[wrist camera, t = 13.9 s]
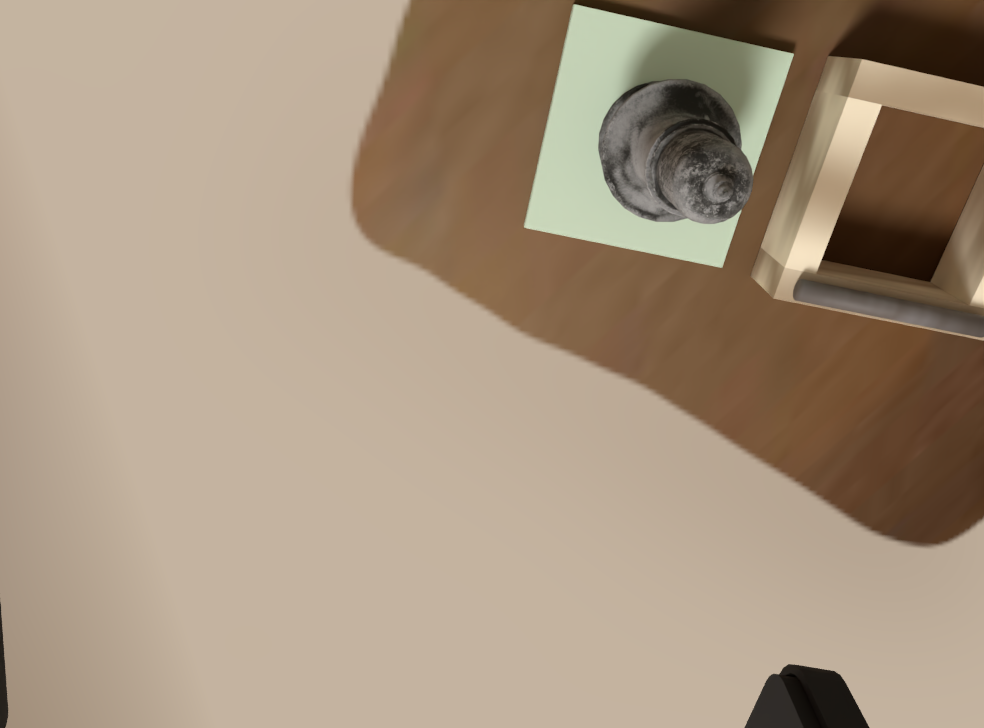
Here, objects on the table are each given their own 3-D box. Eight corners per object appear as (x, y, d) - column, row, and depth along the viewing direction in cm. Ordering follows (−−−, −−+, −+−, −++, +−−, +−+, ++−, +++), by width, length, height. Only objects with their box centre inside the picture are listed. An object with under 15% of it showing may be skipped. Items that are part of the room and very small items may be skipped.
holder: (828, 55, 35) (872, 60, 30) (1044, 104, 35) (1116, 115, 31) (750, 275, 39) (780, 305, 35) (945, 315, 39) (997, 348, 35)
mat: (573, 4, 34) (574, 4, 33) (789, 53, 34) (794, 54, 34) (523, 224, 38) (524, 227, 37) (718, 264, 38) (721, 267, 38)
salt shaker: (615, 223, 37) (665, 307, 26) (573, 105, 35) (608, 142, 24) (734, 176, 36) (837, 242, 25) (699, 51, 34) (795, 64, 23)
